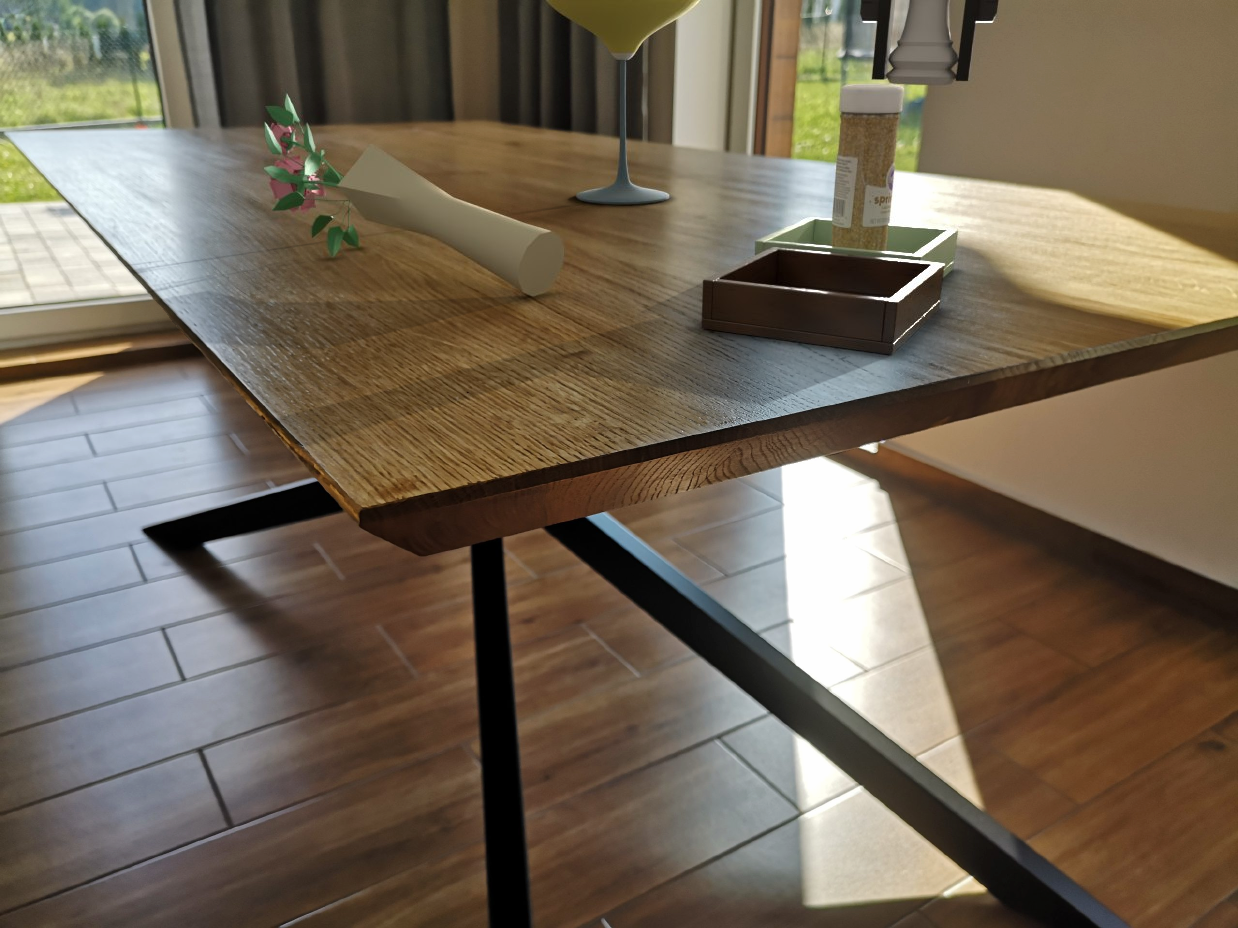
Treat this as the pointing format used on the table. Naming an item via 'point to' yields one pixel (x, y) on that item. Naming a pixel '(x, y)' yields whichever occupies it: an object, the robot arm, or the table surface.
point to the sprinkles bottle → (865, 165)
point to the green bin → (900, 245)
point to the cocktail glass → (622, 69)
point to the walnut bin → (824, 298)
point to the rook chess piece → (924, 46)
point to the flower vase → (409, 208)
